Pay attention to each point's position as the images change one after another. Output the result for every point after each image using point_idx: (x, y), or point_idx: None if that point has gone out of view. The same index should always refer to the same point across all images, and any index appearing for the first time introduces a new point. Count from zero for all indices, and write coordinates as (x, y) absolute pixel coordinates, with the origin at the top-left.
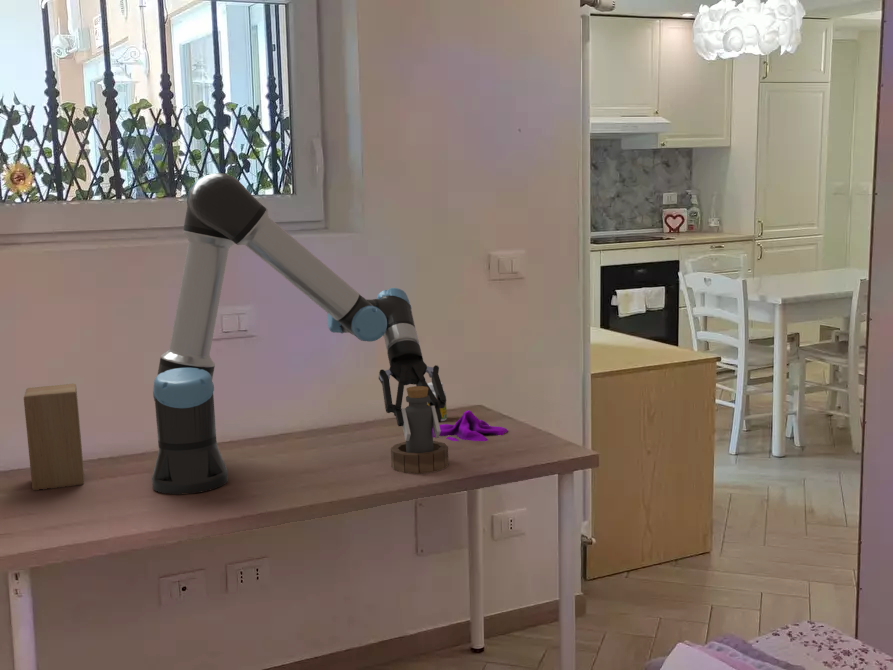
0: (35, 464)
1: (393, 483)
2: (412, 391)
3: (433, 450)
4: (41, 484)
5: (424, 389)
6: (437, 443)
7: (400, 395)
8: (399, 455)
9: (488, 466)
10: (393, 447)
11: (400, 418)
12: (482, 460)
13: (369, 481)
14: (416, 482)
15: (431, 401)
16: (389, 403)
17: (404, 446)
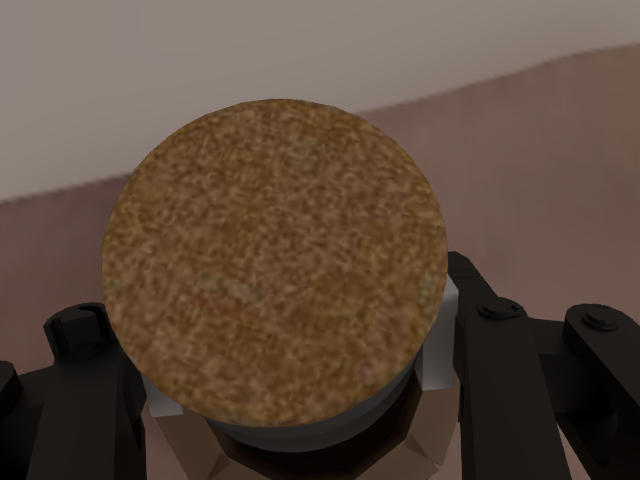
0: None
1: (441, 153)
2: (367, 129)
3: (223, 434)
4: None
5: (193, 127)
6: (193, 415)
7: (505, 416)
8: None
9: (35, 271)
10: (452, 398)
11: (452, 271)
12: (18, 371)
13: (532, 197)
14: None
15: (122, 386)
16: (609, 321)
17: (383, 453)
